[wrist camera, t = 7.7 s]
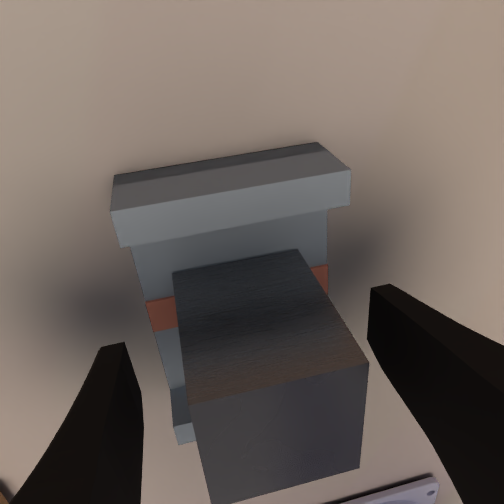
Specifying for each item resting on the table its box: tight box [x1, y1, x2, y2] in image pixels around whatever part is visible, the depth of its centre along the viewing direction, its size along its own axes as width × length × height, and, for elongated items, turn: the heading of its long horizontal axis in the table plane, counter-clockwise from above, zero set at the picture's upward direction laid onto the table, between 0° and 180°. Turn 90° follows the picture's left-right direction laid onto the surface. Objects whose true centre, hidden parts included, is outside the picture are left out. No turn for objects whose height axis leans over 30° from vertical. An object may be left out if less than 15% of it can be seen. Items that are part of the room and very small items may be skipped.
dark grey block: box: [172, 249, 369, 504], centre depth 12 cm, size 4×4×5 cm
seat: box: [110, 142, 351, 445], centre depth 14 cm, size 9×6×2 cm, turn 5°
